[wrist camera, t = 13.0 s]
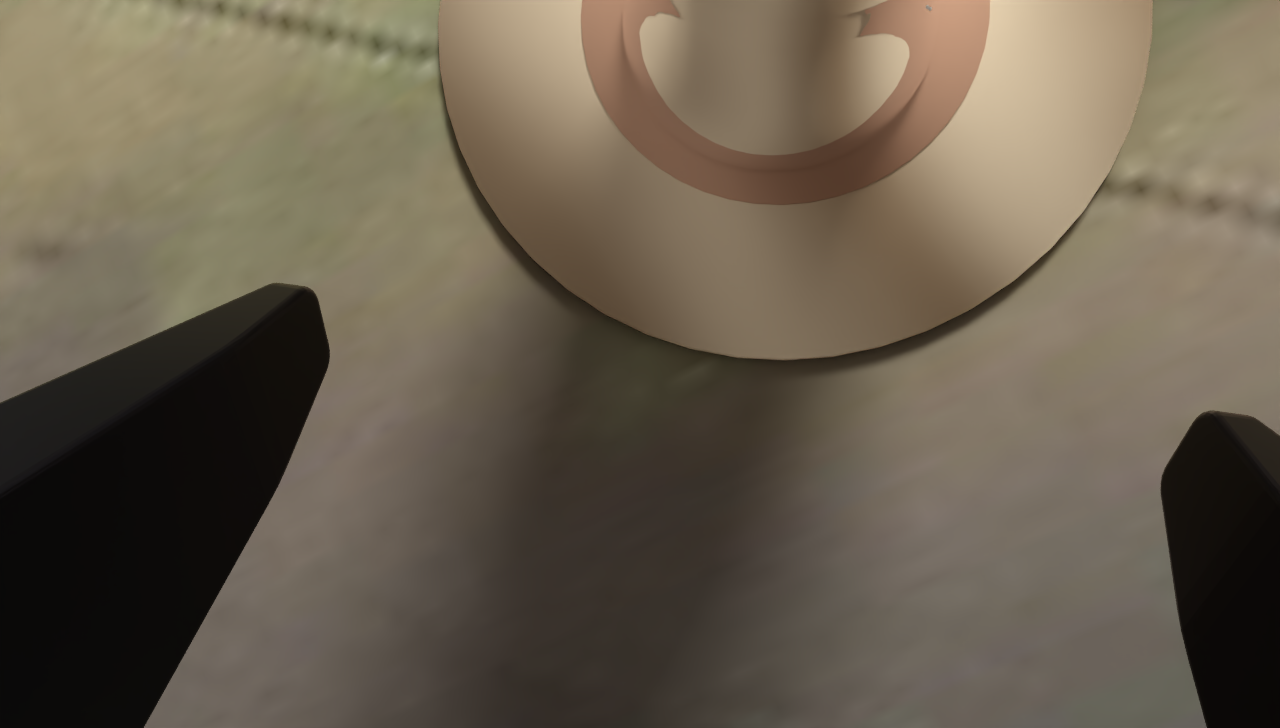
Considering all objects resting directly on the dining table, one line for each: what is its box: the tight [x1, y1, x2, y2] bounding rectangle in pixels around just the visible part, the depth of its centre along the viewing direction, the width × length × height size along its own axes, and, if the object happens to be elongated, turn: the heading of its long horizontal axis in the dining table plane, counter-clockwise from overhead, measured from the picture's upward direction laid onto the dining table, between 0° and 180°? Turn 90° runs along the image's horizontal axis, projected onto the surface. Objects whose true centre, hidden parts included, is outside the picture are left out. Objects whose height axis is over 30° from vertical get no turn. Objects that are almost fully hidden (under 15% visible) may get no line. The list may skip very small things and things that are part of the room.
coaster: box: [438, 0, 1153, 360], centre depth 17 cm, size 14×14×1 cm
